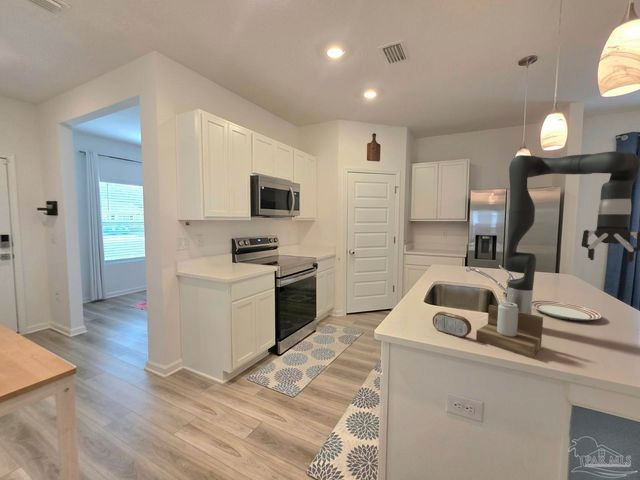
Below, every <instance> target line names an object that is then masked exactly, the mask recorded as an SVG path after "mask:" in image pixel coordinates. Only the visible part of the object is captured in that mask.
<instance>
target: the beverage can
mask: <svg viewBox="0 0 640 480" xmlns="http://www.w3.org/2000/svg"><path fill="white" fill-rule="evenodd" d="M497 307H498V321H497V332H498V333H499V334H500V335H503V336H506V337H514V336H516V335H517V326H518V307H517V304H514V303H510V302H507V301H500V302H499V304H498V306H497Z"/></svg>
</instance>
